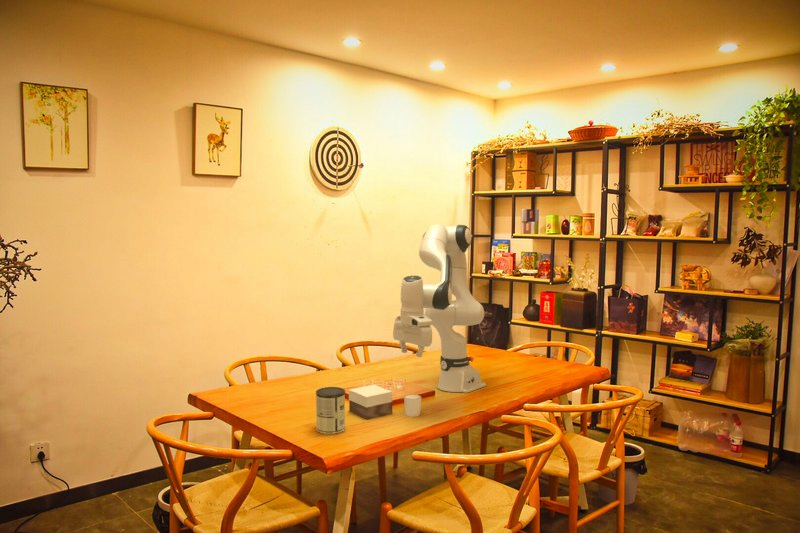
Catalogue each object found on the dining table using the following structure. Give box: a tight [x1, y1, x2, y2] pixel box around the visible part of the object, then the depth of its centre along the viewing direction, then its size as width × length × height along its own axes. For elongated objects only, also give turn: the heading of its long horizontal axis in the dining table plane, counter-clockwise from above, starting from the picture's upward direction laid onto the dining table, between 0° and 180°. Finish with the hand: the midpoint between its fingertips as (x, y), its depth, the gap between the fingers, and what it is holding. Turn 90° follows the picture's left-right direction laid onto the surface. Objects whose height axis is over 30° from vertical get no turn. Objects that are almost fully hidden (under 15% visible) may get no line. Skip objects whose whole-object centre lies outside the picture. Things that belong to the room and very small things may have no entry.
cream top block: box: [348, 384, 393, 408], centre depth 239 cm, size 12×12×4 cm
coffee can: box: [315, 386, 346, 435], centre depth 220 cm, size 10×10×14 cm
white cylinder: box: [403, 393, 423, 418], centre depth 238 cm, size 7×7×7 cm
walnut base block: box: [348, 399, 393, 421], centre depth 240 cm, size 12×12×5 cm
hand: (411, 354), depth 237 cm, fingers open, 8 cm apart
